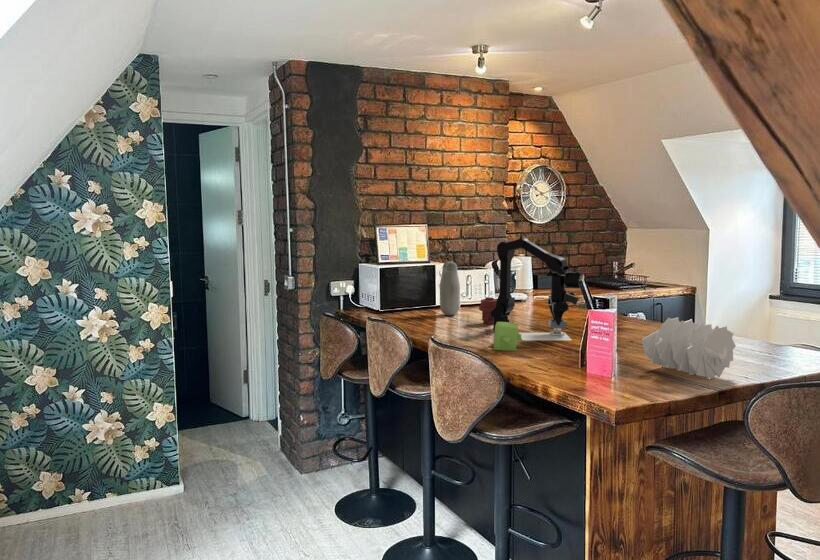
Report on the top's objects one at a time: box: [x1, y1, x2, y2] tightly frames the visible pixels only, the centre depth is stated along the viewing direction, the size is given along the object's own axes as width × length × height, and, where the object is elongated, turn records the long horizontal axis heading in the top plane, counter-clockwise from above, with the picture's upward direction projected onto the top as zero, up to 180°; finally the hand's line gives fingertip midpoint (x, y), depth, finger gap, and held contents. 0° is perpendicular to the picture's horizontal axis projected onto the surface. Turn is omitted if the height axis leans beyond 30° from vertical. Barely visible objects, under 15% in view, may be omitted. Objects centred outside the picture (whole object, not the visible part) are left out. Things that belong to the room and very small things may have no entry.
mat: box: [518, 332, 573, 342], centre depth 273 cm, size 20×17×1 cm
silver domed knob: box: [549, 328, 566, 336], centre depth 277 cm, size 6×6×5 cm
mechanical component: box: [478, 296, 497, 326], centre depth 309 cm, size 12×10×10 cm
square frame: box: [547, 318, 568, 329], centre depth 276 cm, size 7×7×2 cm
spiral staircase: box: [641, 317, 737, 380], centre depth 210 cm, size 18×18×25 cm
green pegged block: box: [493, 321, 522, 352], centre depth 252 cm, size 18×10×10 cm, turn 168°
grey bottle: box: [439, 260, 461, 317], centre depth 334 cm, size 10×10×28 cm
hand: (557, 323), depth 276 cm, fingers closed on square frame, 7 cm apart
